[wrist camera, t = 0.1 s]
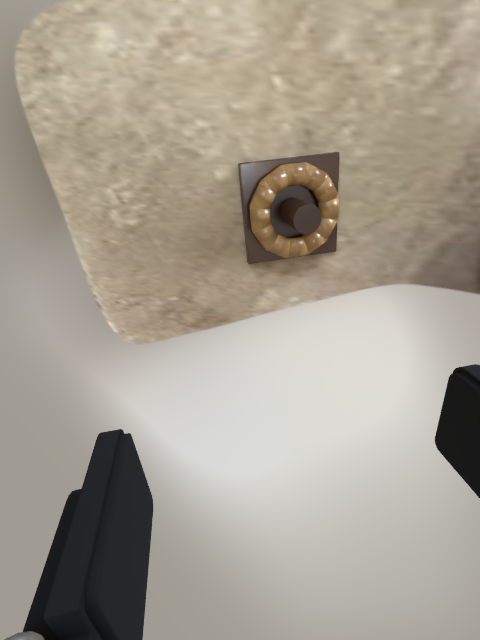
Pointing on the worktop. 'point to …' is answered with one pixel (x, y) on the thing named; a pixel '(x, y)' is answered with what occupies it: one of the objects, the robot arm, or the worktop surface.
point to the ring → (277, 183)
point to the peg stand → (286, 204)
